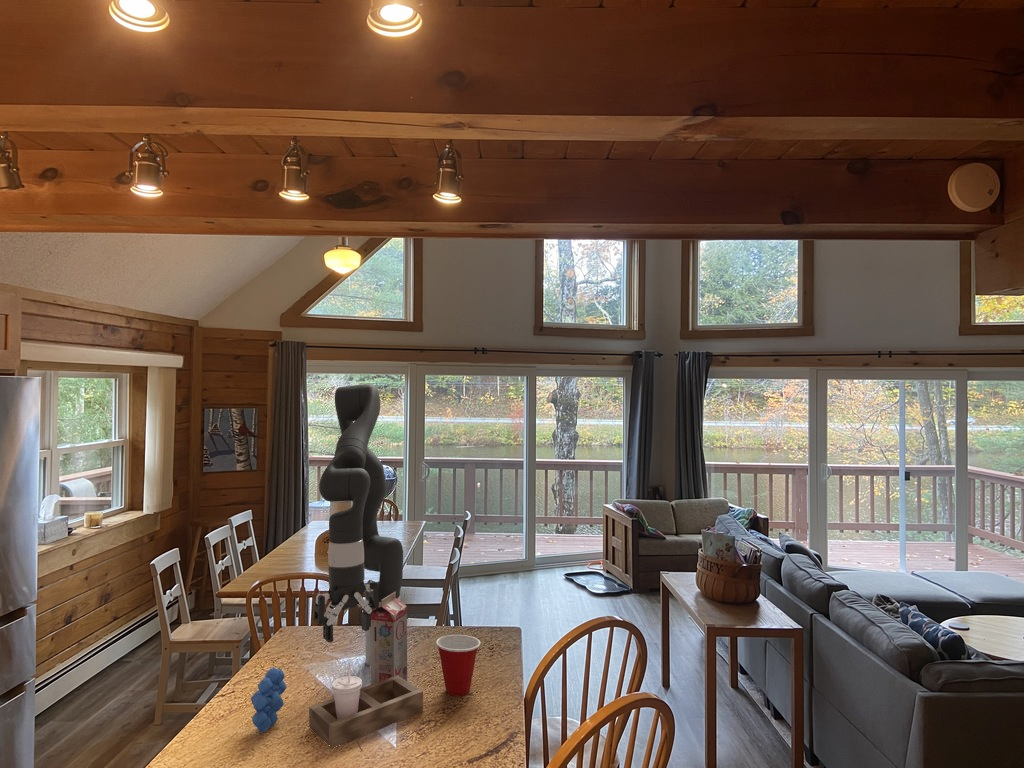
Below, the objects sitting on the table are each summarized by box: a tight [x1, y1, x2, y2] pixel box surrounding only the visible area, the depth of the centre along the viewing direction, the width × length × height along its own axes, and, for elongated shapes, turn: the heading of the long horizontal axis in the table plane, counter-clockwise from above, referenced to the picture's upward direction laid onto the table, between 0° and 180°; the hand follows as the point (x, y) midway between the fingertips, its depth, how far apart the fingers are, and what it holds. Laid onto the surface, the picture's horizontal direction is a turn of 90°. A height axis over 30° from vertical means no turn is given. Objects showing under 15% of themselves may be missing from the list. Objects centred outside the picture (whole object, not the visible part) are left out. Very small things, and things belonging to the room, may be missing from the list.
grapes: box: [250, 667, 287, 734], centre depth 135 cm, size 12×7×12 cm, turn 173°
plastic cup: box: [435, 634, 482, 697], centre depth 151 cm, size 11×11×12 cm
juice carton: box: [369, 592, 408, 685], centre depth 154 cm, size 7×7×22 cm
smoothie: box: [331, 661, 363, 720], centre depth 134 cm, size 6×6×14 cm
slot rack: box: [308, 675, 424, 749], centre depth 138 cm, size 22×11×4 cm, turn 132°
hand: (347, 635), depth 134 cm, fingers open, 8 cm apart
